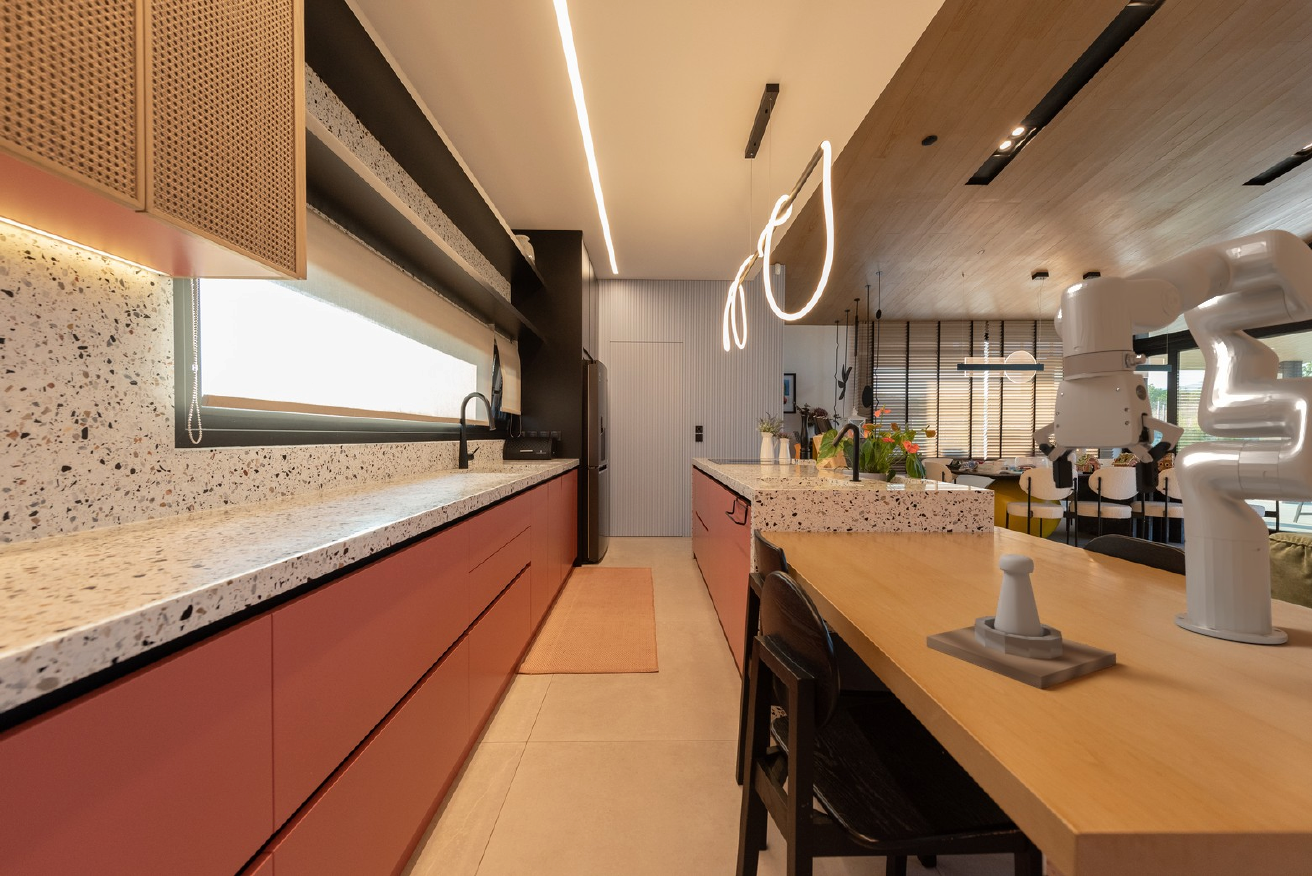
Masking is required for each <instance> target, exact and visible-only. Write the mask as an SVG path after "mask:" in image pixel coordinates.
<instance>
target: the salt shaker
mask: <svg viewBox="0 0 1312 876" xmlns="http://www.w3.org/2000/svg"><path fill="white" fill-rule="evenodd" d="M998 567H999V570H1000V571H1003V575H1002V580H1001V581H1002V582H1001V586H1000V591H999V598H998V603H997V608H996V612H995V613H996V614H995V616H996V618H995V623H994V627H995V630H997V631H1001V632H1004V633H1007V634H1013V635H1019V636H1025V637H1041V633H1042V629H1041V624H1040V623H1041V620H1040V616H1039V611H1038V607H1037V604H1036V599H1035V595H1034V594H1035V593H1034V590H1033V589H1034V588H1033V586H1032V582H1031V578H1030V574H1033V573H1034V570H1035V563H1034V559H1032V558H1031V557H1029V556H1026V555H1022V554H1016V553H1006V554H1002V555H1000V556H999V559H998Z"/></svg>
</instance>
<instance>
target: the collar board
mask: <svg viewBox="0 0 1312 876" xmlns="http://www.w3.org/2000/svg"><path fill="white" fill-rule="evenodd" d="M995 618H996V615H987V616H982V617H981V616H980V617H976V618H975V620H974V625H972V626H968V627H963V628H958V629H954V630H950V631H944V632H941V633H936V634H931V635H927V636H926V647H927V648H930V649H933V650H936V651H938V652H941V653H944V654H946V655H949V656H952V657H955V658H957V659H959V660H962V661H965V662H968V663H970V664H973V665H976V666H978V667H981V668H984V669H987V670H989V671H991V672H992V671H993V672H994V673H998V674H1000V675H1002V676H1005V677H1008V678H1010V679H1013V680H1015V681H1019V682H1022V683H1024V684H1027V685H1030V686H1032V687H1034V688H1038V689H1041V690H1043V689H1045V688H1048V687H1052V686H1054V685H1057V684H1060V683H1063V682H1066V681H1069V680H1072V679H1075V678H1078V677H1082V676H1084V675H1088V674H1091V673H1094V672H1097V671H1100V670H1103V669H1106V668H1109V667H1112V666H1115V665H1117V653H1116V652H1112V651H1109V650H1106V649H1102V648H1099V647H1096V646H1092V645H1088V644H1084V643H1081V642H1078V641H1074V640H1070V639H1067V638H1064V637H1063V635H1062V631H1061V630H1059V629H1057V628H1055V627H1053V626H1050V625H1049V624H1045V623H1042V622H1040V624H1041V629H1042V633H1041V637H1025V636H1019V635H1013V634H1007V633H1004V632H1001V631H997V630H995V627H994V623H995Z"/></svg>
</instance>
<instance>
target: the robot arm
mask: <svg viewBox="0 0 1312 876" xmlns="http://www.w3.org/2000/svg"><path fill="white" fill-rule="evenodd" d="M1181 314H1183V319H1184V321H1185V324H1186V325H1187V328H1188V330H1189V331H1190V334H1191V336H1192V337H1193V339H1194V341H1195V343H1196V345H1197V346H1198V348H1199V350H1200V351H1201V353H1202V356H1203V358H1204V362H1205V368H1204V369H1205V370H1204V377H1203V381H1202V386H1201V392H1200V397H1199V402H1198V408H1197V424H1198V427H1199V428H1200V430H1201V431H1202V432H1203V433H1205V434H1206V435H1209V436H1210V437H1211V436H1212V437H1217V438H1223V439H1224V438H1226V440H1225V439H1224V440H1207V441H1199V442H1196V443H1195V442H1194V443H1191V444H1189V445H1187V446H1185V447H1182V448H1181V449H1180V450H1179V451H1178V452H1177V454H1176V456H1175V458H1174V462H1173V463H1174V472H1175V476H1176V480H1177V481H1176V482H1177V484H1178V488H1179V491H1180V495H1181V502H1182V509H1183V523H1184V524H1183V527H1184V528H1183V529H1184V564H1185V588H1186V589H1185V591H1186V593H1185V595H1186V612H1181V613H1176V614H1175V615H1174V617H1173V618H1174V619H1173V620H1174V624H1176V625H1177V626H1179V627H1182V628H1183V629H1185V630H1187V631H1192V632H1194V633H1197V634H1198V633H1199V634H1201V635H1206V636H1208V637H1209V636H1210V637H1214V638H1219V639H1223V640H1228V641H1229V640H1230V641H1234V642H1241V643H1250V644H1263V645H1281V644H1285V643H1287V642H1288V640H1289V639H1288V634H1287V632H1285V631H1284V630H1283V629H1280V628H1277V627H1276V626H1273V619H1272V618H1273V617H1272V613H1273V612H1272V588H1271V559H1270V555H1271V553H1270V532H1269V529H1268V525H1267V523H1266V522H1265V520H1264V518H1263V517H1262V516H1261V515H1260V514H1259V513H1258V512H1257V511H1256V510H1254V508H1253V507H1252V506H1251V505H1249V504H1248V502H1247V501H1246V500H1248V501H1249V500H1251V501H1252V500H1253V501H1255V500H1259V501H1274V502H1275V501H1277V502H1290V503H1291V502H1293V503H1312V376H1295V377H1285V378H1278V373H1279V367H1280V358H1279V356H1278V354H1277V352H1275V350H1274V349H1272V348H1271V347H1270V346H1268V345H1267V344H1265V343H1264V342H1262V341H1260V340H1258V339H1257V338H1255V337H1253V336H1251V335H1249V334H1247V333H1246V332H1244V330H1251V329H1257V328H1258V329H1259V328H1263V327H1265V328H1266V327H1270V326H1276V325H1283V324H1290V323H1299V322H1303V321H1309V320H1312V249H1311V247H1309V245H1308V244H1307V243H1306V242H1305V241H1304V240H1302V239H1301V238H1300V237H1299V236H1297V235H1296V234H1293V233H1292V232H1290V231H1287V230H1284V229H1277V228H1276V229H1274V228H1273V229H1267V230H1263V231H1258V232H1255V233H1251V234H1248V235H1243V236H1239V237H1237V238H1233V239H1228V240H1226V241H1222V242H1221V241H1220V242H1218V243H1214V244H1209V245H1206V246H1202V247H1198V248H1195V249H1193V250H1191V251H1188V252H1185V253H1184V254H1182V255H1178V256H1177V257H1174V258H1172V259H1169V260H1167V261H1164V262H1161V263H1159V264H1156V265H1154V266H1151V267H1148V268H1145V269H1142V270H1139V271H1137V272H1134V273H1131V274H1129V275H1126V276H1124V277H1122V276H1101V277H1094V278H1089V279H1084V280H1080V281H1077V282H1075V283H1072V284H1070V285H1068V286H1067V287H1065V288H1064V289H1063V291H1062V292H1061V296H1060V305H1059V306H1058V307H1057V309H1056V311H1055V315H1054V318H1053V319H1054V320H1053V324H1054V328H1055V331H1056V334H1057V335H1058V336H1059V338H1061V339H1062V360H1063V363H1062V364H1063V380H1062V381H1059V383H1058V386H1057V387H1058V388H1057V390H1056V391H1057V392H1056V396H1055V397H1056V398H1055V404H1054V405H1055V406H1054V415H1053V416H1054V418H1053V419H1054V420H1053V421H1052V422H1050V423H1049V424H1047V425H1045V426H1043V427H1041V428H1039V429H1037V430H1036V431H1034V432H1033V433H1032V435H1031V436H1032V438H1033V439H1034V441H1035V443H1036V445H1037V446H1038V450H1040V452H1042V453H1043V454H1044V455H1045V456H1047V460H1048V461H1049V462H1051V463H1052V481H1053V482H1054V486H1055V488H1056V489H1060V490H1061V489H1070V488H1073V487H1074V481H1073V480H1074V477H1073V475H1074V474H1073V462H1072V460H1069V459H1068V458H1070V456H1071V455H1072V454H1073V453H1074V452H1075V451H1076V450H1077V449H1083V450H1085V449H1088V450H1089V449H1092V450H1093V449H1094V450H1095V449H1128V450H1129V451H1130V452H1131V453H1132V454H1133V455H1134V456H1136V458H1138V459H1139V461H1138V462H1136V463H1135V465H1134V468H1135V469H1134V470H1135V471H1134V472H1135V488H1136V489H1135V491H1136V492H1137V493H1138V494H1150V493H1155V492H1156V489H1157V487H1159V483H1160V478H1159V462H1161V461H1163V458H1165V457H1166V456H1167V455H1168V454H1169V453H1171V452H1172V451H1174V450H1175V448H1176V445H1177V443H1178V442H1179V441H1180V439H1181V437H1182V436H1183V434H1184V432H1185V429H1184V428H1183V427H1182V426H1178V425H1176V424H1173V423H1170V422H1168V421H1164V420H1162V419H1158V418H1156V417H1153V413H1152V405H1151V400H1150V396H1149V392H1148V389H1147V385H1146V382H1145V378H1144V376H1143V374H1141V373H1136V374H1135V372H1136V370H1137V369H1136V367H1138V366H1139V365H1145V364H1146V362H1147V357H1146V354H1144V353H1141V354H1137V353H1136V352H1135V351H1134V347H1133V346H1134V345H1133V344H1134V343H1133V336H1134V335H1142V334H1147V333H1152V332H1156V331H1160V330H1162V329H1165V328H1167V327H1169V326H1170V325H1172V324H1173V323H1174V322H1175V321H1176V320H1177V319H1178V318H1180V315H1181ZM1155 431H1157V432H1159V433H1161V434H1162V437H1161V439H1160V441H1158V442H1157V443H1156V444H1155V445H1154V446H1152V444H1153V443H1154V442H1155ZM1053 434H1054V442H1055V444H1056V446H1055V444H1053V443H1051V441H1050V439H1049V437H1050V436H1051V435H1053ZM1227 438H1228V440H1227ZM1259 438H1261V440H1258V439H1259ZM1262 438H1268V439H1269V438H1290V439H1269V440H1268V439H1262ZM1229 439H1230V440H1229ZM1231 439H1233V440H1231ZM1237 439H1238V440H1237ZM1251 439H1252V440H1251ZM1254 439H1256V440H1254Z"/></svg>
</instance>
